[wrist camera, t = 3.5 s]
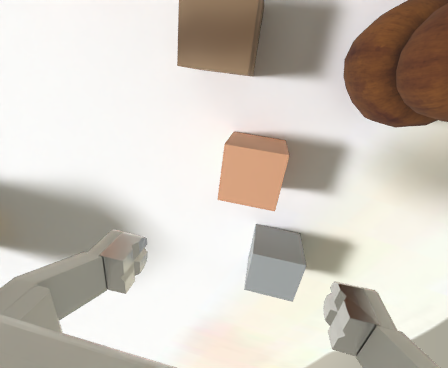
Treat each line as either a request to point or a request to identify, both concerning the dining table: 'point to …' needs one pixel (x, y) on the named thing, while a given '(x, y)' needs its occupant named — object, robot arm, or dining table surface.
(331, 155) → the dining table surface
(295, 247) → the slate grey block
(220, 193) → the terracotta block
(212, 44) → the walnut block
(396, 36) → the wooden figurine
